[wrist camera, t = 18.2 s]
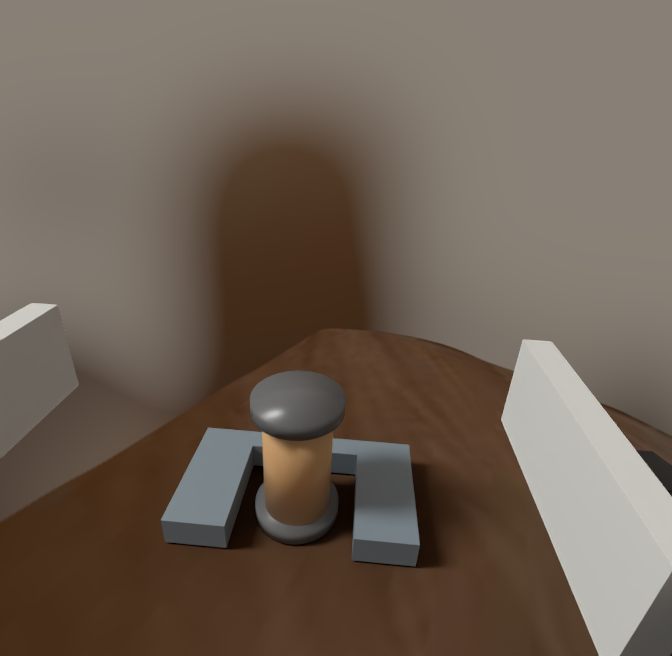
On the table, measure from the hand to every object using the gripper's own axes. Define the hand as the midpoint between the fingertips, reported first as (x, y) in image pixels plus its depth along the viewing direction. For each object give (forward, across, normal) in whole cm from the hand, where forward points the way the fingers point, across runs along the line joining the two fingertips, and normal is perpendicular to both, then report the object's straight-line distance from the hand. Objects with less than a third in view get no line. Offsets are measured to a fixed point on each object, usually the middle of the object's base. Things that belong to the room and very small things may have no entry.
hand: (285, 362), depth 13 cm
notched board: (+17, -2, -25) cm, 30 cm away
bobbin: (+16, -2, -25) cm, 30 cm away
